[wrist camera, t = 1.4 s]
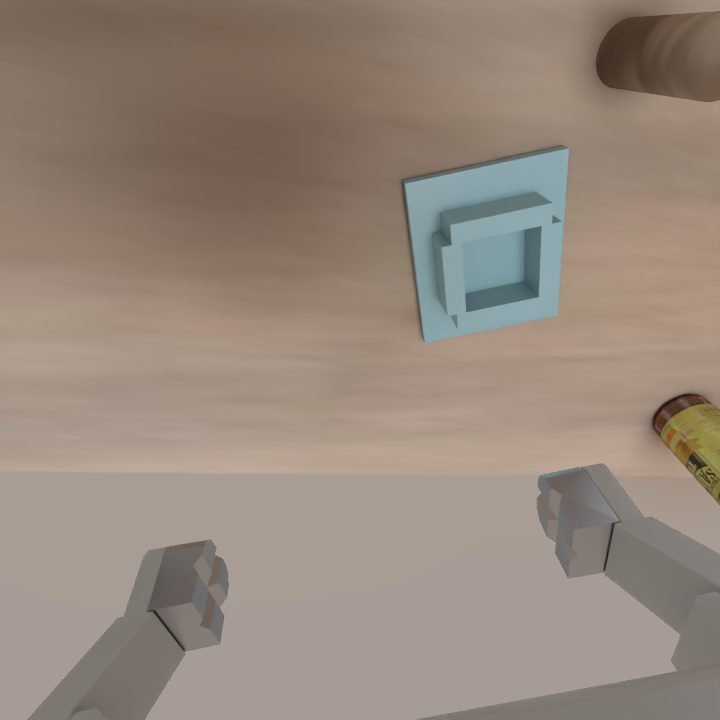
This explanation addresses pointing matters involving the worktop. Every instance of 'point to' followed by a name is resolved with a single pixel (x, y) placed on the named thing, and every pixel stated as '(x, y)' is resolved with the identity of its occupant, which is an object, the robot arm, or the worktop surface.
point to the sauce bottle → (694, 438)
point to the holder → (488, 242)
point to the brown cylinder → (664, 56)
